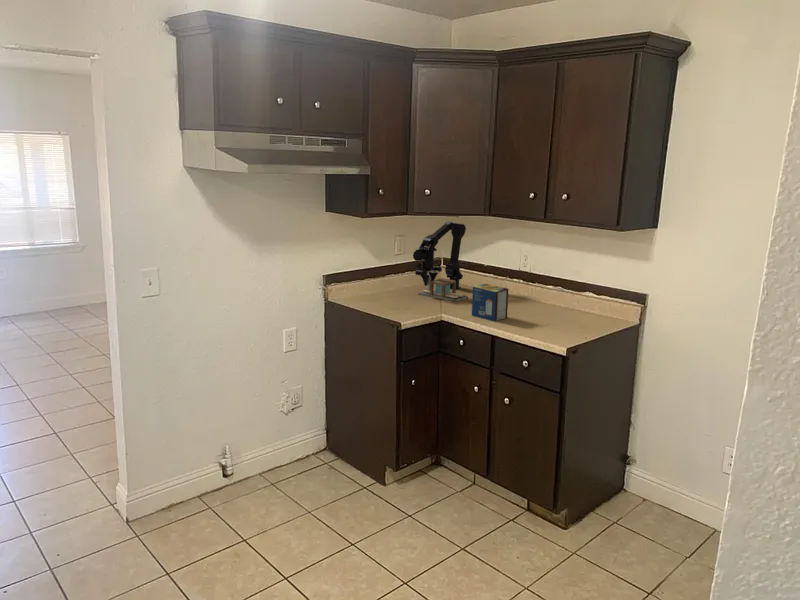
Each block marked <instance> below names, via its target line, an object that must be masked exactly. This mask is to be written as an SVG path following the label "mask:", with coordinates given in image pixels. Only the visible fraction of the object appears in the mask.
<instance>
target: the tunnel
mask: <svg viewBox="0 0 800 600" xmlns="http://www.w3.org/2000/svg"><path fill="white" fill-rule="evenodd" d="M452 283H453V284H452ZM436 284H438V285H442V296H441V295H436V294H433V289H434V288H435V286H434V285H436ZM448 284H452V289H451V292H452V293H457V289H456V280H450V278H443V277H442V278H438V279H434V280H433V281H430V293H426V292H422V291H420V292H417V295H418V296H419V295H421V296H424V297H430V298H435V299H439V300H445V301H450V302H460V301H463V300H467V299H469V296H468V295H464V296H462V297H459V298H452V297H447V296H445V293H446V285H448Z"/></svg>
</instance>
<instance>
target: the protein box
mask: <svg viewBox="0 0 800 600" xmlns="http://www.w3.org/2000/svg"><path fill="white" fill-rule="evenodd" d="M471 298H472V299H471V316H473V317H475V318H478V319H479V318H480V319H483V320H487V321H491V322H498V321H501V320H504V319H508V307H509V288H507V287H503V286H498V285H493V284H490V283H489V284H488V283H482V284H478V285H472V297H471Z"/></svg>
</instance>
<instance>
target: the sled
mask: <svg viewBox="0 0 800 600" xmlns="http://www.w3.org/2000/svg"><path fill="white" fill-rule="evenodd" d="M430 281H431V276H430V275H429V279H428V283H427V286H425V289H423V290H422V291H421V292H426V293H430ZM433 294H436V295H441V296H442V294H439V293H436V288H435V289H434V288H433ZM445 296H447V297H452V298H459V297H462V296H465V294H463V293H457V292H456V293H452V291H450V293H447V294H445Z"/></svg>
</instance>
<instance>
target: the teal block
mask: <svg viewBox="0 0 800 600" xmlns="http://www.w3.org/2000/svg"><path fill="white" fill-rule="evenodd" d="M435 290H436V293H439V294H442V285H438V284H435ZM450 292H451V289H450V284H448V285H446V293H445V294H447V293H450Z"/></svg>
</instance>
